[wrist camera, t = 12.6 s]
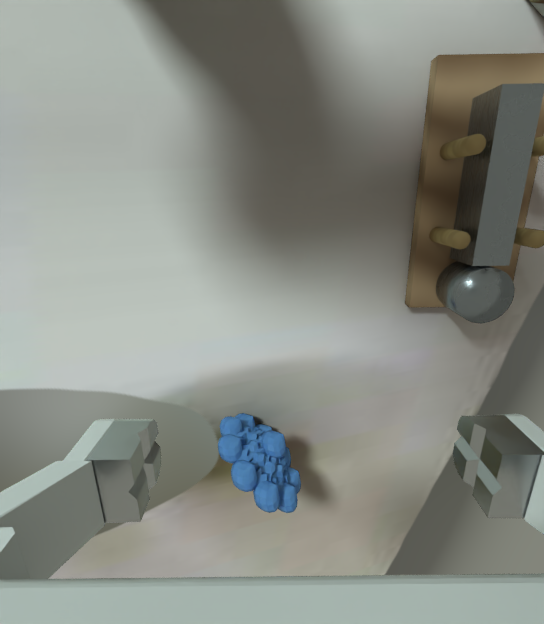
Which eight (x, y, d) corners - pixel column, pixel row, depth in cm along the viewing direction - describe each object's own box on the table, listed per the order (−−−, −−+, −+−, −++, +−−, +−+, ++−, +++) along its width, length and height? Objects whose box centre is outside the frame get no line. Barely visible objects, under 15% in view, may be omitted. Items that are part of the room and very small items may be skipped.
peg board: (431, 61, 33) (467, 30, 27) (547, 59, 33) (610, 28, 27) (404, 303, 41) (428, 322, 35) (499, 302, 41) (540, 321, 35)
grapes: (316, 428, 46) (331, 504, 35) (283, 461, 48) (287, 544, 37) (245, 379, 44) (237, 444, 33) (214, 416, 46) (195, 489, 34)
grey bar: (461, 98, 33) (489, 84, 29) (521, 97, 33) (558, 83, 29) (432, 309, 40) (452, 323, 35) (482, 308, 40) (508, 322, 35)
